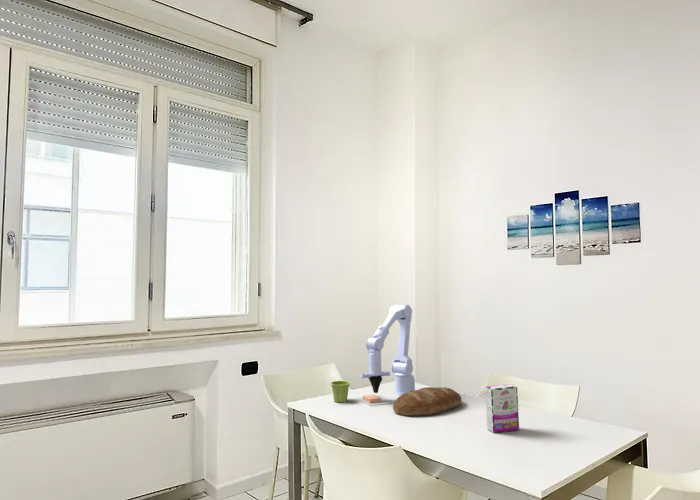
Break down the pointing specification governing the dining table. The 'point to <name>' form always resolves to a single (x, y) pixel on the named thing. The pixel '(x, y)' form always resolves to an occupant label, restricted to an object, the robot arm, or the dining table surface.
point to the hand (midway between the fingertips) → (375, 392)
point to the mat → (384, 401)
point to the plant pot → (340, 390)
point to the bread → (427, 401)
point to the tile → (372, 399)
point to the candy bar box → (502, 408)
